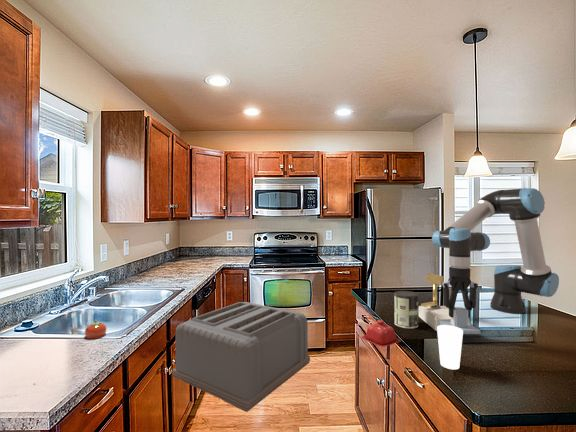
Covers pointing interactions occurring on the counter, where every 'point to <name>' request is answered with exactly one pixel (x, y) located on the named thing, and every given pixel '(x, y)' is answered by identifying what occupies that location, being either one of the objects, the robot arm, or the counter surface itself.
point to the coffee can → (406, 309)
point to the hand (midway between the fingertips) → (459, 325)
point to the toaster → (241, 351)
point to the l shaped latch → (436, 281)
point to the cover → (462, 322)
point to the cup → (450, 345)
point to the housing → (435, 315)
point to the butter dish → (381, 334)
